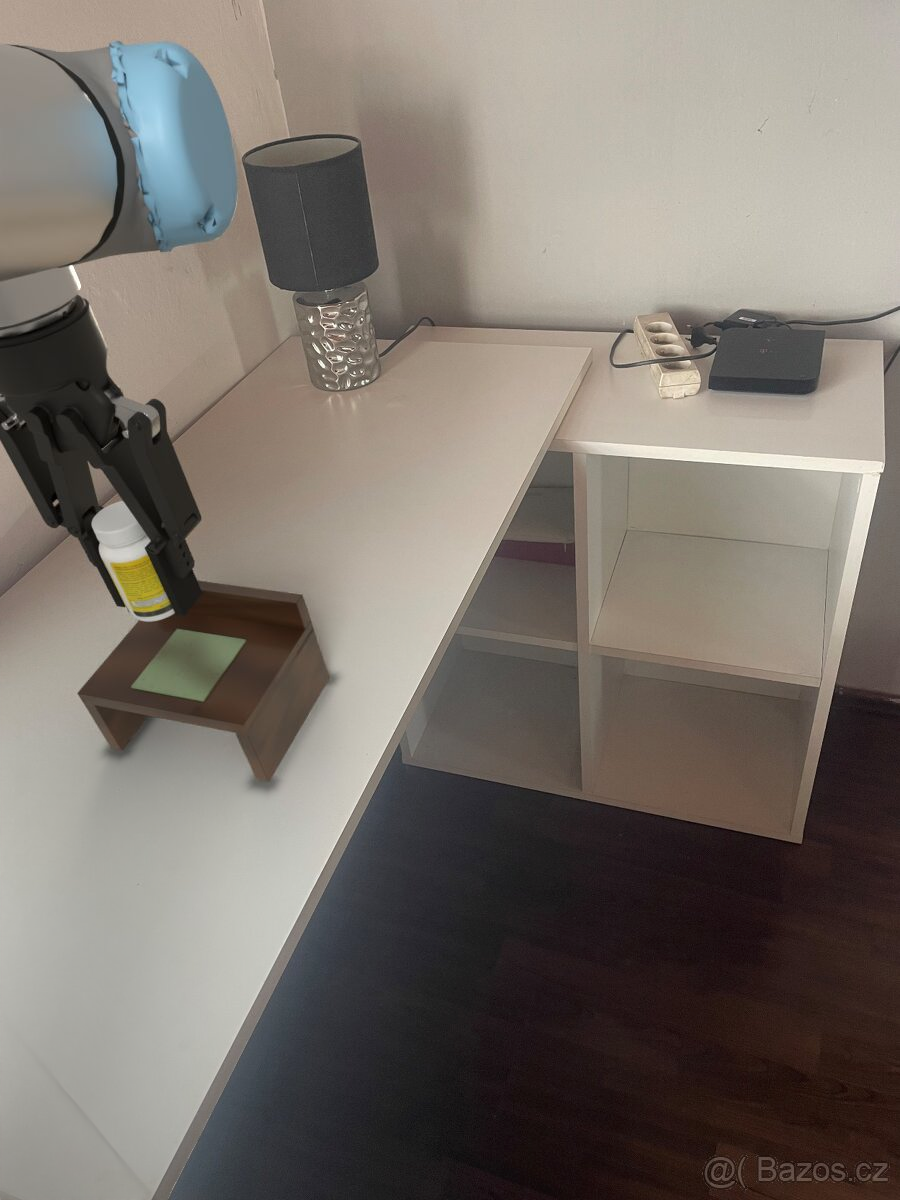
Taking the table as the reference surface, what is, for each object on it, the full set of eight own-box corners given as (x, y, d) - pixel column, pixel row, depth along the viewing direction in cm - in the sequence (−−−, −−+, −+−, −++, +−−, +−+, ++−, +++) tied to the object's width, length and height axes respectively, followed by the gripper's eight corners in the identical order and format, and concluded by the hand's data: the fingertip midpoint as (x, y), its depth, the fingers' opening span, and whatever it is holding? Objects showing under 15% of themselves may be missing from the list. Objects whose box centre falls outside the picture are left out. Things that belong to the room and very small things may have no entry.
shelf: (268, 782, 71) (231, 699, 64) (110, 748, 76) (61, 667, 69) (330, 677, 79) (302, 593, 72) (183, 653, 84) (145, 573, 78)
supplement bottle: (202, 595, 67) (165, 507, 62) (153, 631, 65) (110, 543, 59) (165, 576, 70) (126, 489, 64) (117, 610, 67) (72, 523, 62)
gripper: (180, 286, 52) (281, 581, 67) (-44, 285, 58) (96, 557, 73) (105, 343, 47) (233, 649, 62) (-133, 336, 52) (38, 617, 68)
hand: (159, 599), depth 67 cm, fingers closed on supplement bottle, 5 cm apart
